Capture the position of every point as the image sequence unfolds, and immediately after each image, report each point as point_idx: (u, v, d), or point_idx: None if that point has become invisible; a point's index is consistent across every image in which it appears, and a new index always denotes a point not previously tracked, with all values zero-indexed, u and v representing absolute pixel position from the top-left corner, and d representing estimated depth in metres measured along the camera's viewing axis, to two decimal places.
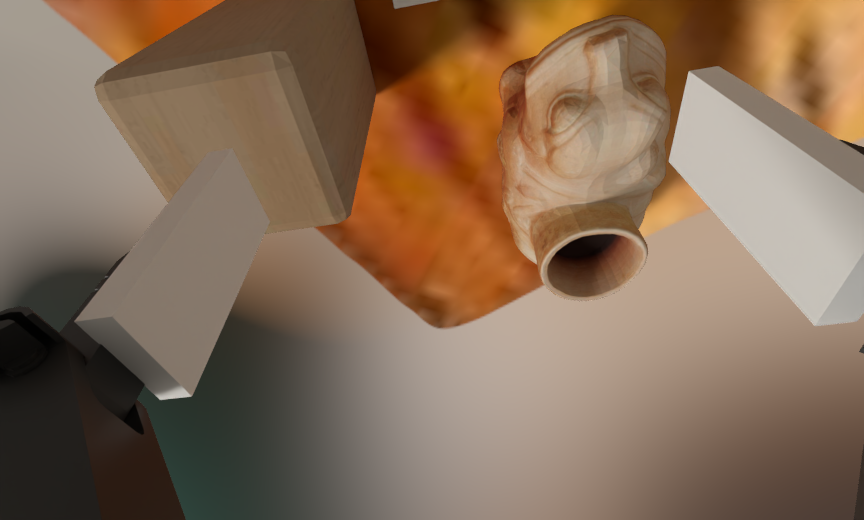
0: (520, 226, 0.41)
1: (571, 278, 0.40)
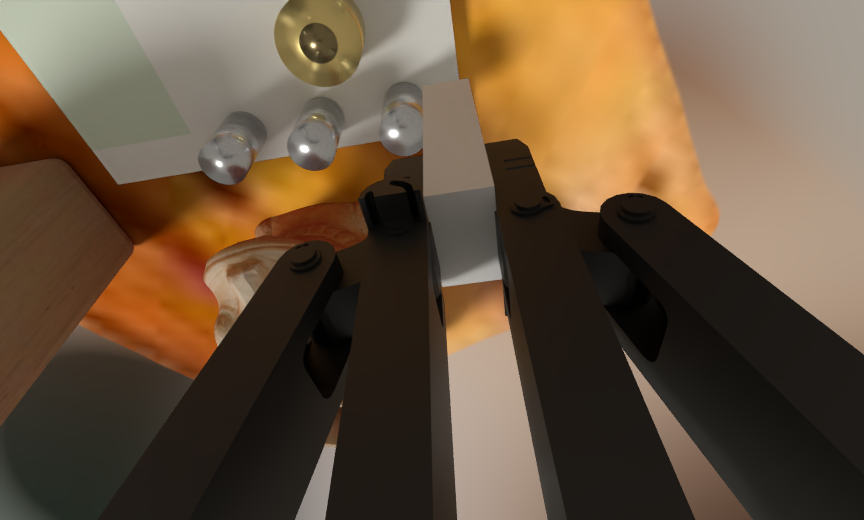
0: None
1: (337, 422, 0.41)
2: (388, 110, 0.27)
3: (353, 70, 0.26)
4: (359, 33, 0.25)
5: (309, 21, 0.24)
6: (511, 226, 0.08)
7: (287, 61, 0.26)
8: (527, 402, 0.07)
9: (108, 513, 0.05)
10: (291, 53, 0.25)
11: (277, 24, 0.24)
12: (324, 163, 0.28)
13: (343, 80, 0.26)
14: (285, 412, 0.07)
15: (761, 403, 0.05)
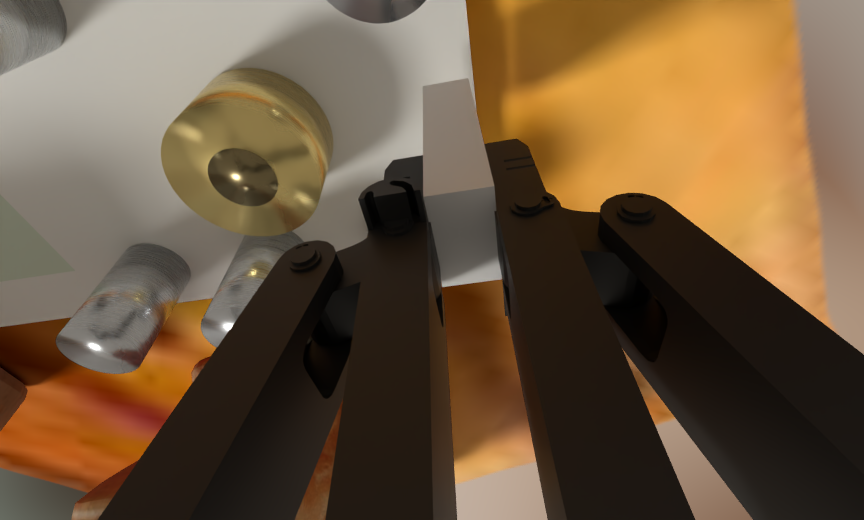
0: None
1: None
2: None
3: (310, 212, 0.15)
4: (312, 158, 0.14)
5: (219, 147, 0.13)
6: (511, 226, 0.08)
7: (197, 205, 0.15)
8: (527, 402, 0.07)
9: (108, 513, 0.05)
10: (200, 194, 0.15)
11: (165, 155, 0.13)
12: None
13: (296, 226, 0.16)
14: (285, 412, 0.07)
15: (762, 403, 0.05)
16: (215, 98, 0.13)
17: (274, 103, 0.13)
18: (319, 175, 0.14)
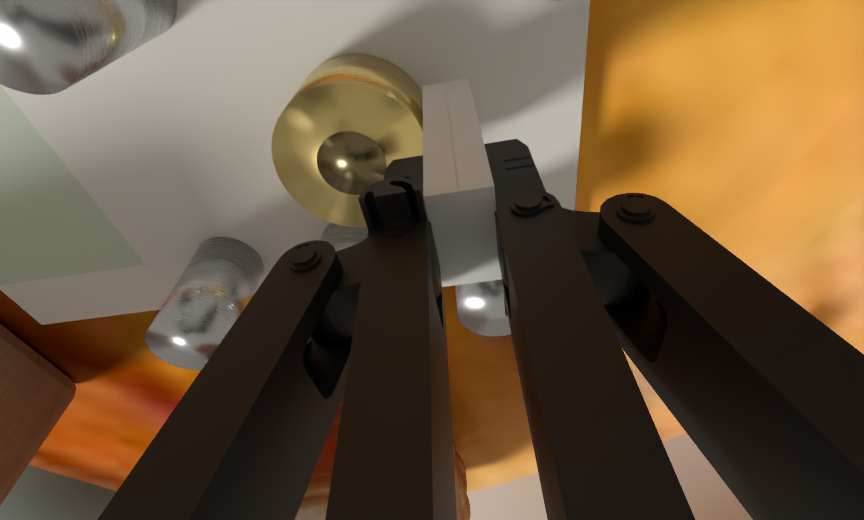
0: None
1: None
2: None
3: None
4: None
5: (331, 131, 0.13)
6: (511, 226, 0.08)
7: (302, 196, 0.14)
8: (527, 402, 0.07)
9: (108, 513, 0.05)
10: (305, 184, 0.14)
11: (276, 142, 0.13)
12: None
13: None
14: (285, 412, 0.07)
15: (761, 403, 0.05)
16: (328, 79, 0.12)
17: (385, 82, 0.13)
18: None
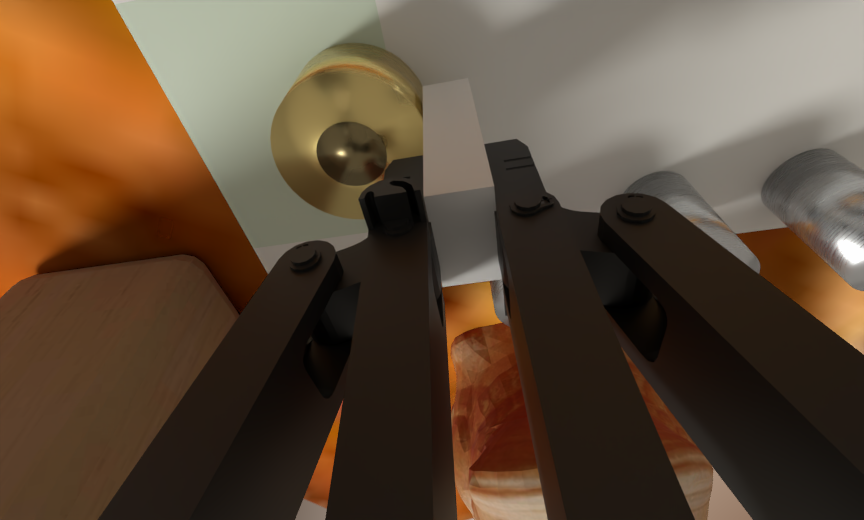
0: None
1: None
2: None
3: None
4: None
5: (334, 119, 0.13)
6: (510, 226, 0.08)
7: (296, 182, 0.14)
8: (527, 402, 0.07)
9: (109, 513, 0.05)
10: (302, 170, 0.14)
11: (276, 126, 0.13)
12: None
13: None
14: (285, 412, 0.07)
15: (761, 402, 0.05)
16: (336, 67, 0.12)
17: (393, 76, 0.13)
18: None
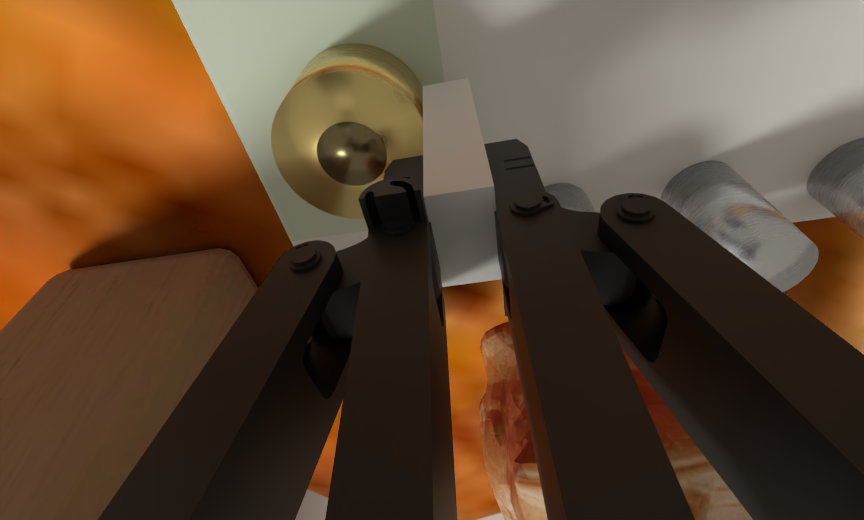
0: None
1: None
2: None
3: None
4: None
5: (334, 119, 0.13)
6: (511, 226, 0.08)
7: (297, 183, 0.14)
8: (527, 402, 0.07)
9: (108, 513, 0.05)
10: (303, 171, 0.14)
11: (276, 127, 0.13)
12: None
13: None
14: (285, 412, 0.07)
15: (761, 403, 0.05)
16: (335, 67, 0.12)
17: (392, 76, 0.13)
18: None
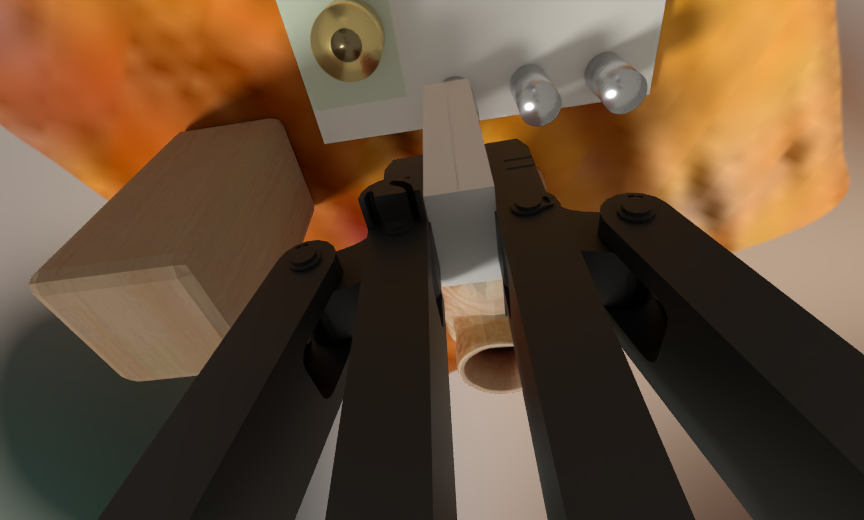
0: (446, 321, 0.45)
1: (492, 371, 0.44)
2: (614, 72, 0.30)
3: (375, 67, 0.31)
4: (380, 36, 0.30)
5: (338, 27, 0.29)
6: (511, 226, 0.08)
7: (321, 60, 0.31)
8: (527, 402, 0.07)
9: (108, 513, 0.05)
10: (323, 54, 0.30)
11: (313, 30, 0.29)
12: (547, 119, 0.32)
13: (366, 76, 0.31)
14: (285, 412, 0.07)
15: (761, 403, 0.05)
16: (339, 3, 0.29)
17: (364, 9, 0.29)
18: (381, 45, 0.30)
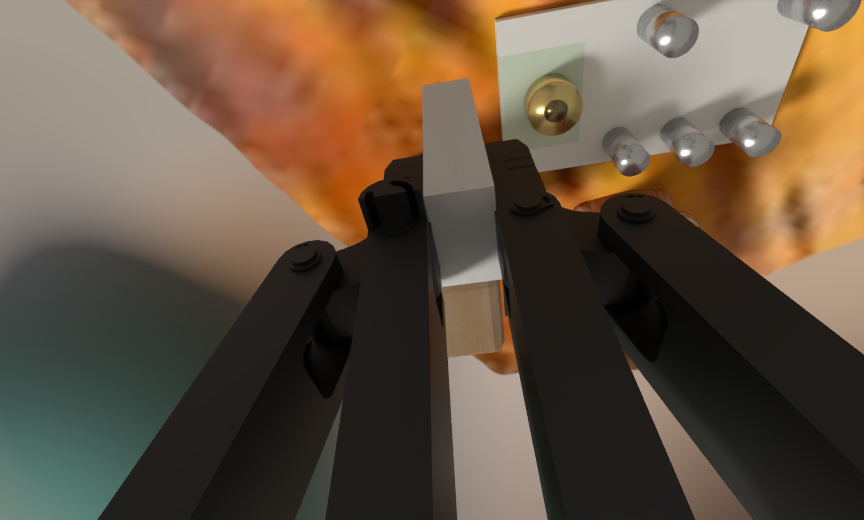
0: None
1: None
2: (755, 127, 0.41)
3: (572, 126, 0.41)
4: (582, 105, 0.40)
5: (554, 98, 0.40)
6: (511, 226, 0.08)
7: (533, 121, 0.41)
8: (527, 402, 0.07)
9: (108, 513, 0.05)
10: (537, 116, 0.41)
11: (534, 100, 0.40)
12: (700, 162, 0.42)
13: (563, 132, 0.42)
14: (285, 412, 0.07)
15: (761, 403, 0.05)
16: (558, 82, 0.39)
17: (573, 85, 0.40)
18: (581, 111, 0.41)
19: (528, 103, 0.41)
